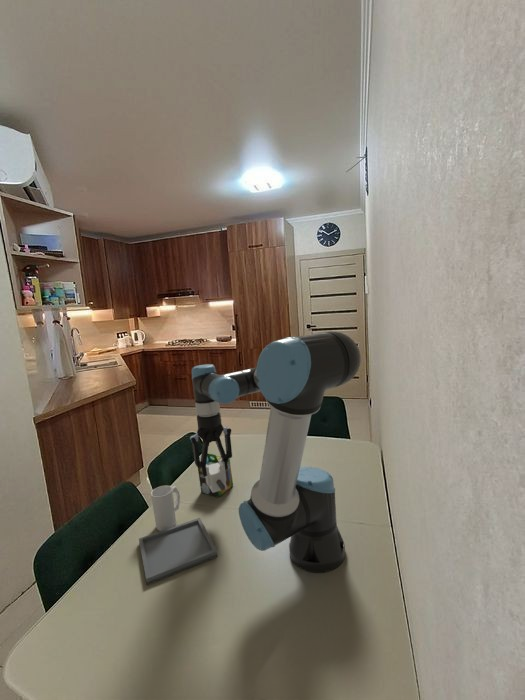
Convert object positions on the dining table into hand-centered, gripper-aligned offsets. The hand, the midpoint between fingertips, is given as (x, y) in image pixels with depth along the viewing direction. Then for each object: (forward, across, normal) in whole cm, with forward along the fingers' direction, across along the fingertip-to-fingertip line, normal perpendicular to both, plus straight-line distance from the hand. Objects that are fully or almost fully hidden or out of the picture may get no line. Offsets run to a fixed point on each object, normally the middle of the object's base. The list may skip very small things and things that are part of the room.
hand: (216, 481), depth 113 cm
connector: (+2, 0, 0) cm, 2 cm away
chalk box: (+13, -5, -18) cm, 23 cm away
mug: (+13, +15, -7) cm, 21 cm away
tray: (+13, +16, +8) cm, 22 cm away
